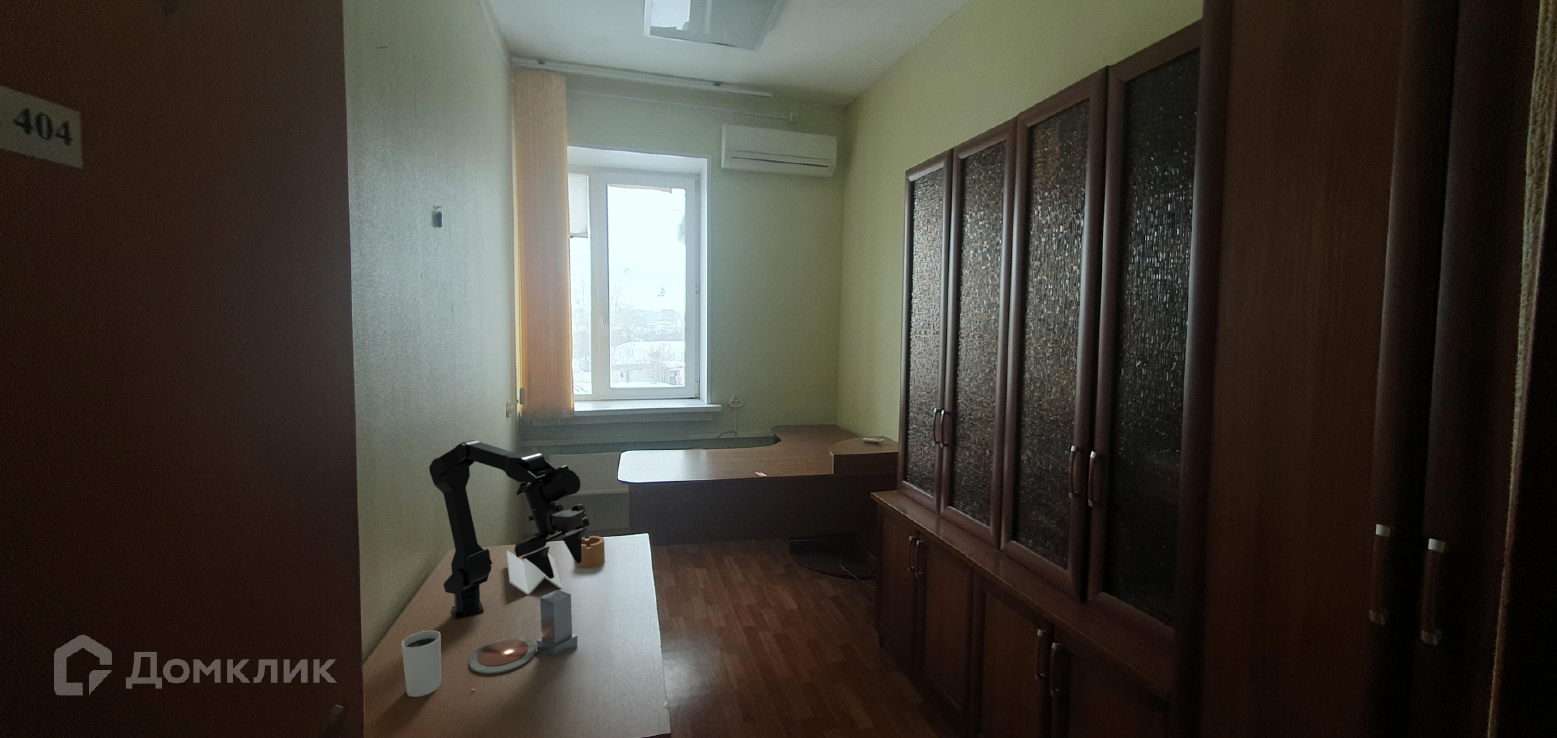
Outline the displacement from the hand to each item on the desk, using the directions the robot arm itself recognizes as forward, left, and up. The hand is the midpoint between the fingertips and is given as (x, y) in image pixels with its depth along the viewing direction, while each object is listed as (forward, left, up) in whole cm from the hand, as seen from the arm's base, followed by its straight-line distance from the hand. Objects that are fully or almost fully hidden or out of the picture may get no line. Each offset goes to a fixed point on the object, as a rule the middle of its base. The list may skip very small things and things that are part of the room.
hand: (566, 570), depth 139 cm
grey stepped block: (+6, -4, -15) cm, 16 cm away
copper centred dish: (+3, -14, -15) cm, 21 cm away
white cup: (+6, -29, -15) cm, 33 cm away
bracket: (-43, +18, -15) cm, 49 cm away
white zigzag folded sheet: (-38, 0, -15) cm, 41 cm away
